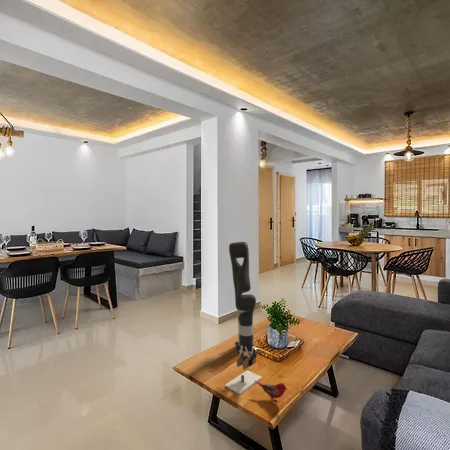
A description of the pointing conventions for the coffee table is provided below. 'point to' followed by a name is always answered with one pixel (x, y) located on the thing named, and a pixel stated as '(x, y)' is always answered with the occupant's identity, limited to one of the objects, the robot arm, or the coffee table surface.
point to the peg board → (243, 382)
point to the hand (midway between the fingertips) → (246, 363)
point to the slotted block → (244, 361)
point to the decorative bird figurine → (273, 390)
